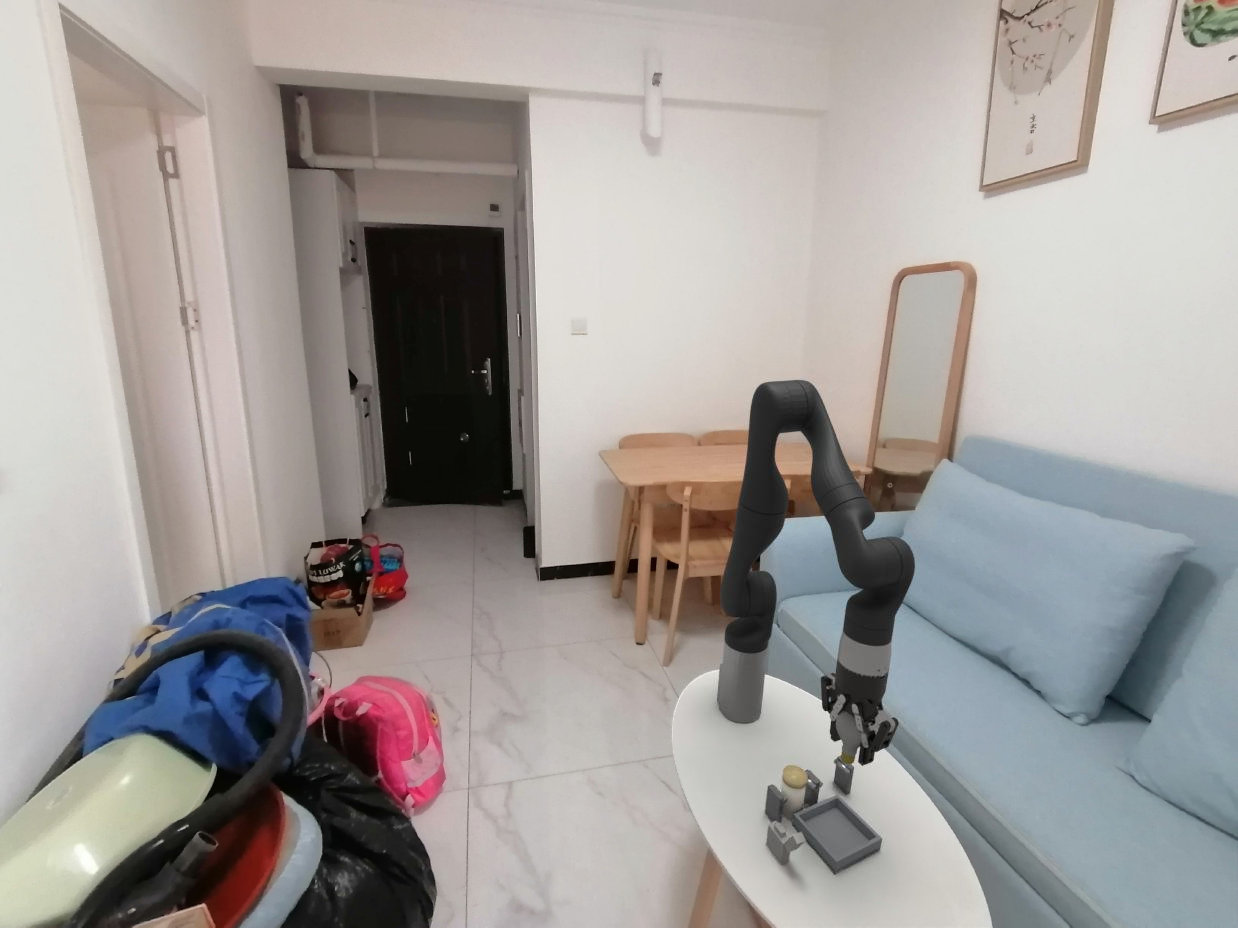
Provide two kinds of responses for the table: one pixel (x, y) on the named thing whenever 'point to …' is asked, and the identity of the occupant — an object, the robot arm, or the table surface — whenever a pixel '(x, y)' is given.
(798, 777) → the cream domed cylinder
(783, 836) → the lighter
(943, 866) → the table surface
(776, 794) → the clip block
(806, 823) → the tray
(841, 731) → the light bulb
